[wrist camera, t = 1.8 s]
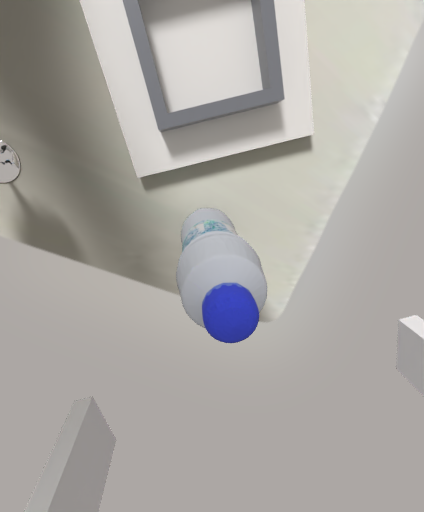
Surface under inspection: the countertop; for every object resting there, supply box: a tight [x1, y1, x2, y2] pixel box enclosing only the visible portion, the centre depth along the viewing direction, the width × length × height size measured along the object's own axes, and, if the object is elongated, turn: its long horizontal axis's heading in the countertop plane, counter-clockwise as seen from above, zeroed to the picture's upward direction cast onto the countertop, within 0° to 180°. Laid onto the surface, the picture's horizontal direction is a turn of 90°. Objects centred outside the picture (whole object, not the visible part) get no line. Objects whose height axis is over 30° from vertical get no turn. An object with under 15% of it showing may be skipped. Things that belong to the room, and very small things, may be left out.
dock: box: [79, 0, 314, 178], centre depth 24 cm, size 20×20×4 cm
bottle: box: [176, 208, 267, 343], centre depth 24 cm, size 7×7×20 cm
